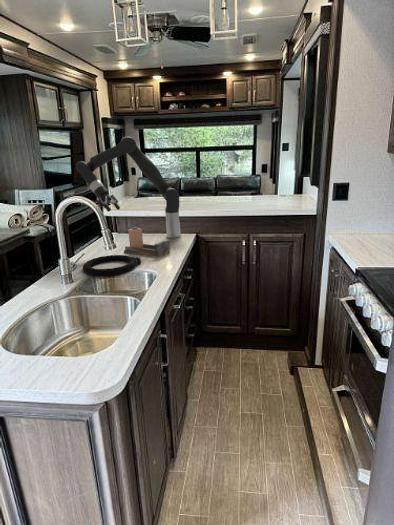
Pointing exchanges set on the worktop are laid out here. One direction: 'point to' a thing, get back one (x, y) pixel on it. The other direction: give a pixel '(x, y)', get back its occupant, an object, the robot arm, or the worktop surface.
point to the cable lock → (113, 271)
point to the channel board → (150, 249)
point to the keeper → (135, 237)
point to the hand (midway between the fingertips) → (114, 209)
